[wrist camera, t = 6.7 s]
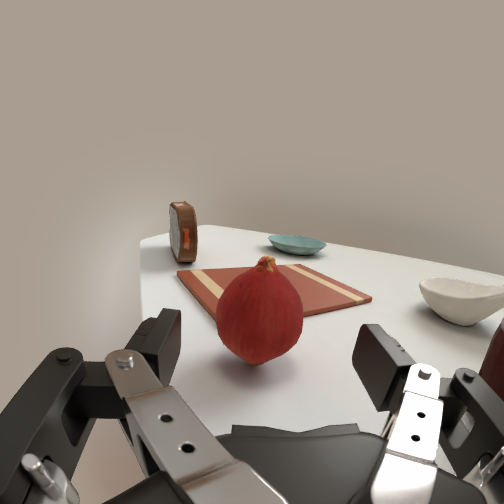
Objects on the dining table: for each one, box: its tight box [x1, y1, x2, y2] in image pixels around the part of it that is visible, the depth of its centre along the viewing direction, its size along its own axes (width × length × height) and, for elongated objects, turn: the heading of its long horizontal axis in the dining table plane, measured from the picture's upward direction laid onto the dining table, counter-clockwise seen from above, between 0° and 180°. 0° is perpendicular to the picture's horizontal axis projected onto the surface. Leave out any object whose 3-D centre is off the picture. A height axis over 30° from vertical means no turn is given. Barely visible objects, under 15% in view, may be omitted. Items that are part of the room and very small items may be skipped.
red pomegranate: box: [215, 256, 304, 366], centre depth 19 cm, size 6×6×8 cm
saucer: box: [268, 235, 326, 255], centre depth 58 cm, size 12×12×2 cm
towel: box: [177, 264, 372, 321], centre depth 35 cm, size 20×15×1 cm
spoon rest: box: [419, 278, 504, 326], centre depth 25 cm, size 24×12×7 cm, turn 33°
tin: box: [169, 201, 198, 262], centre depth 45 cm, size 15×3×8 cm, turn 21°
